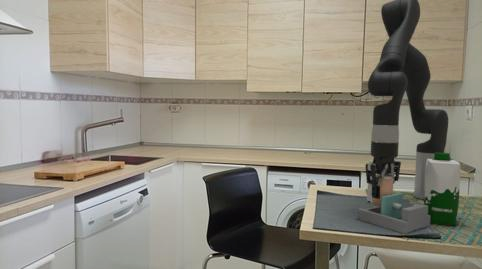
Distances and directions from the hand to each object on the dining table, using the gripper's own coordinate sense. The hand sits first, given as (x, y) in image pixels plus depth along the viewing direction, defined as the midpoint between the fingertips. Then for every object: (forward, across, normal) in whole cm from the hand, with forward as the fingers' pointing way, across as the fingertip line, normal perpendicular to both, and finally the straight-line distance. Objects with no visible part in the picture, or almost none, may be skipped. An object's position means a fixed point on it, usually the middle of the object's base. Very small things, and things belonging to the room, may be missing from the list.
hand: (382, 196), depth 106 cm
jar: (+2, 0, 0) cm, 2 cm away
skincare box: (+7, -18, -13) cm, 23 cm away
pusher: (+6, 0, +4) cm, 7 cm away
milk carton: (+7, -13, +10) cm, 18 cm away
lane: (+7, 0, +4) cm, 8 cm away
